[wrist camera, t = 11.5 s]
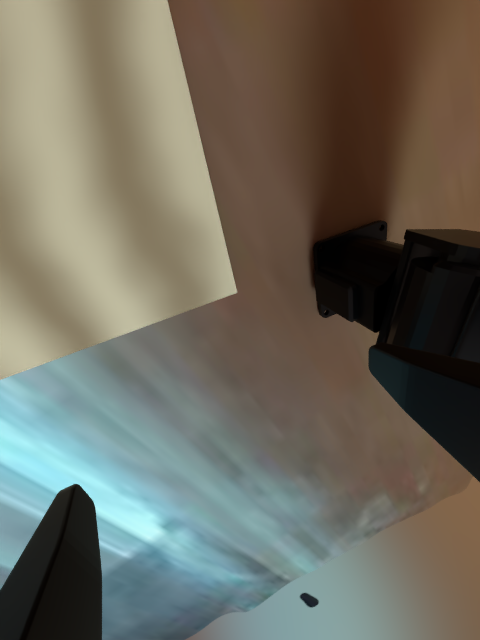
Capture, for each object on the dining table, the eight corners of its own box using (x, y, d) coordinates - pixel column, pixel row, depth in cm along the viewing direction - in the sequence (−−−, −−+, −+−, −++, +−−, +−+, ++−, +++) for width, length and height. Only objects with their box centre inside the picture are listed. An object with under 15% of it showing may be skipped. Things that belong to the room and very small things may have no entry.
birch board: (136, -102, 12) (138, -122, 11) (232, 287, 21) (237, 292, 20) (-609, -70, 8) (-694, -98, 7) (-89, 404, 17) (-100, 416, 16)
